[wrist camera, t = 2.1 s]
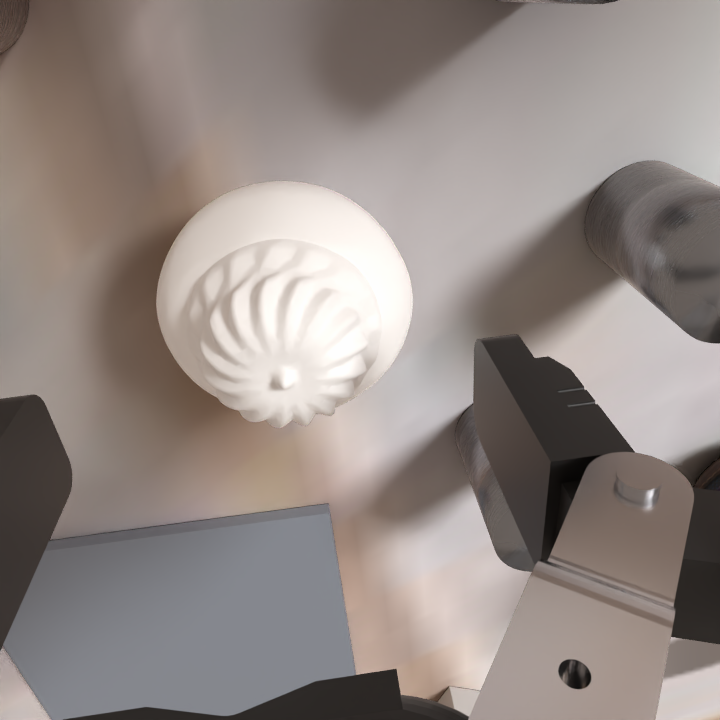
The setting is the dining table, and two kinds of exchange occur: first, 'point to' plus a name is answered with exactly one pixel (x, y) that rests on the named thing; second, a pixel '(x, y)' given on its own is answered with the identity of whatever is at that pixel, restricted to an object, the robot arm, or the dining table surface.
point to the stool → (460, 699)
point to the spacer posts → (614, 247)
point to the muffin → (284, 301)
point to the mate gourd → (710, 477)
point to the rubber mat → (185, 616)
